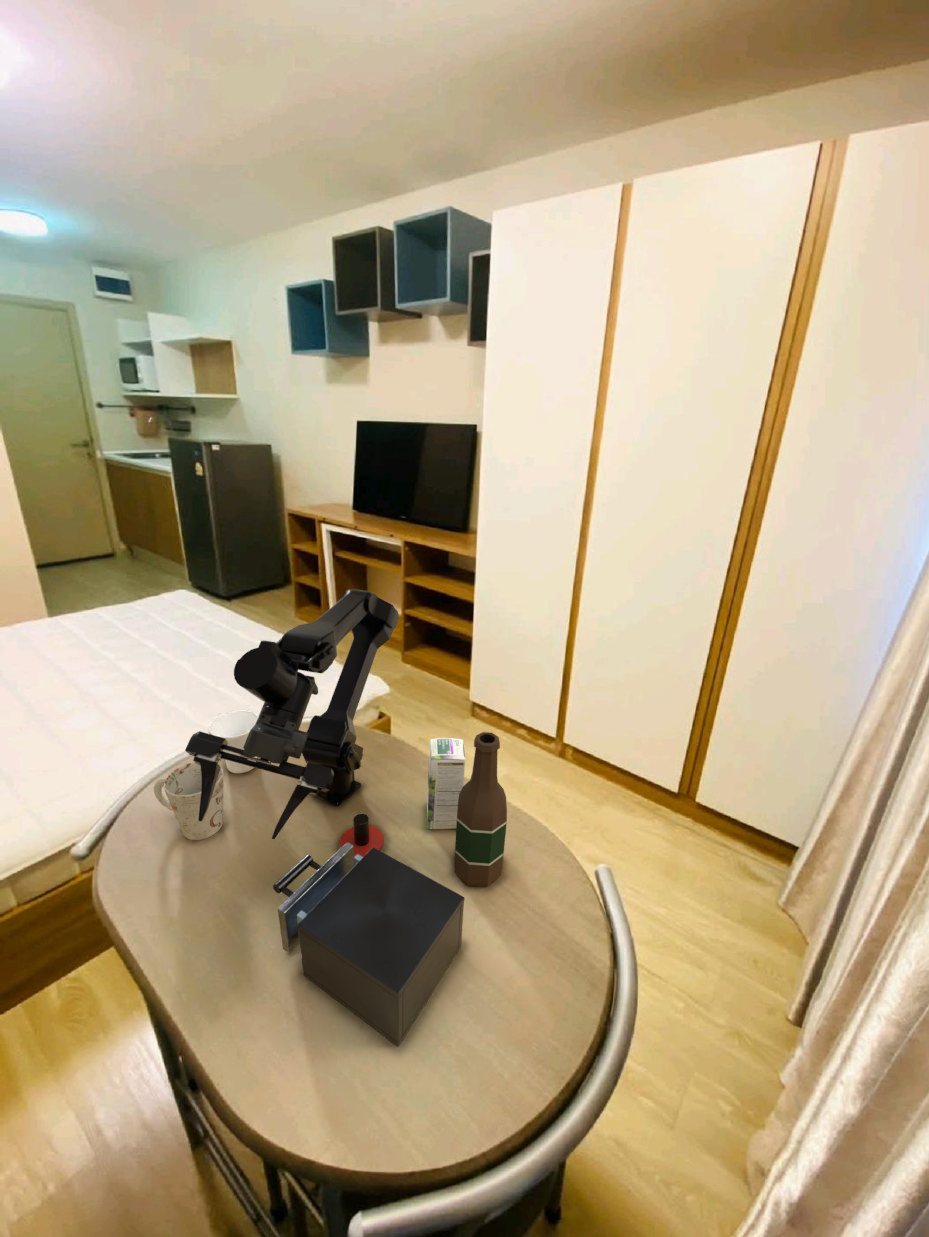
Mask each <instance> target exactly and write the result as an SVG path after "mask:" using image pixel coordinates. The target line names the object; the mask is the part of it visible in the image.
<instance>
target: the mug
mask: <svg viewBox="0 0 929 1237" xmlns="http://www.w3.org/2000/svg"><path fill="white" fill-rule="evenodd" d="M224 778H225V776H224V770H223V768H222V766H221V768H220V772H219V775H218V778H217V781H216V784H215V788H214V791H213V794H212V797H211V801H210V804H209V807H208V810H207V812H206V814H205V816H204V819H203V821H198V819H199V809H200V799H201V789H202V777H201V766H200V765H198V764H196V763H195V762H194V761H192V762H190V763H186V764H183V765H181V766H179V767H177V768H176V769H174V770H172V772H170V773H169V774H168V776H166V777H161V778H159V779H157V780H156V782H155V783H154V786H153V793H154V796H155V798H156V799H157V801H158V802H159V803H160V805H162V806H163V807H165V808H166V809H167V810H169V811H171V812H173V814H174V816H175V818H176V821H177V823H178V825H179V828H180V831H181V834H182V835H183V836H184V838H186V839H187V840H190V841H201V840H205V839H208V838H209V837H212V836H214V835H215V834H216V833H218V832H219V831H220V830H221V828H222V827H223V825H224V784H225V783H224V782H225V781H224ZM163 789H164V792H165V795H166V797H165V796H164V795H163V793H162V790H163ZM166 798H167V799H166Z"/></svg>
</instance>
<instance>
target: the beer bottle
mask: <svg viewBox="0 0 929 1237" xmlns="http://www.w3.org/2000/svg"><path fill="white" fill-rule="evenodd" d="M473 740H474V741H473V747H474V748H475V750H474V756H473V764H472V771H471V775H470V779H469V781H467V782H466V783H464V786H463V788H462V790H461V792H460V793H459V799H458V809H457V824H456V829H455V846H454V873H455V874H456V875H457V877H459V878H460V879H461V881H462V882H464V883H465V884H466V885H467V886H472V887H489V885H491V884H492V883H493V882H495V881H496V880H497V879H499V877H501V876H502V870H503V864H504V853H505V844H506V843H505V842H506V832H507V825H508V824H507V822H508V806H507V805H508V804H507V803H508V802H507V795H506V793H505V789H504V788H503V786H502V785H501V784H500V783H499V779H498V750H499V749H501V742H500V741H501V740H500V738H499V736H498V735H496V733H495V734H494V733H493V732H487V731H482V732H480V733H478V734H476V735H475V737H474V739H473Z"/></svg>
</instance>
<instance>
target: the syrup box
mask: <svg viewBox="0 0 929 1237" xmlns="http://www.w3.org/2000/svg"><path fill="white" fill-rule="evenodd" d="M465 748H466V747H465V742H464V739H462V738H454V737H453V738H452V737H437V738H431V739H430V740H429V756H428V773H427V798H426V799H427V803H426V806H427V807H426V827H427V830H453V829H455V830H456V824H457V809H458V799H459V793H460V792H461V790H462V788H463V786H464V785H465V772H466V749H465Z"/></svg>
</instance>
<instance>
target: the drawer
mask: <svg viewBox="0 0 929 1237" xmlns="http://www.w3.org/2000/svg"><path fill="white" fill-rule="evenodd" d="M362 858H363V857H362V856H360V855H358V854H357V855H356V856H355V857H354V846H353V845H352V844H350V843H348V842H347V843H346V844H345V845H344V846H343V847H342V848H341V849H340V848H339V849H338V850H337V851H336V852H335V853H334V854H333V855H332V856H331V857H330V858H329V859H328V860H327V861H326V862H324V864H323V865H321V864H319V863H318V862H316V861H315V860H314V858H313V857H312V855H310V854H306V855H305V856H303V857H302V859H300V860H299V861H298V862H297V863H296V864H295V865H294V866H293V867H292V868H291V869H289V870H288V871H287V872H285V874H284V875H283V876H282V877H280V879H278V880H277V881H276V882H275V883H274V884H273V885H272V888H273V890H274V892H275V893H276V894H278V895H279V894H281V893H282V894H283V895H285V896H286V897H288V898H287V899H286V900H285V901H284V902H283V903H282V904H281V905H279V907H278V908H277V914H278V922H279V931H280V938H281V944H282V950H284V951H285V952H287V954H290V953H292V952H293V951H294V949H295V948H296V947H297V946H299V945H300V938H299V929H298V924H299V923H300V922H301V921H302V920H303V919H304V917H305V916H306V915H307V914H308V913H309V912H310V911H311V910H312V909H313V908H314V907H315V906H316V905H317V904H318V903H319V902H320V901H321V900H322V899H323V898H324V897H325V896H326V895H327V894H328V893H329V892H330V891H331V890H332V889H333V888H334V887H335V886H336V885H337V884H338V883H339V882H340V881H341V880H342V879H343V878H344V877H345V875H346V874H347V873H348V872H349V871H350V870H351V869H352V868H353V867H354V866H355V865H356V864H357V863H358V862H359V861H360V860H361V859H362ZM309 867H310V868H311V869H313V870H315V871H316V872H314V873H313V874H312V875H311V876H310V877H309V878H307V880H305V882H304V883H302V885H300V887H298V888H297V889H296V890H295V891H293V890H291V889H290V888H288V887H289V886H290V885H291V884H292V883H293V882H294V881H295V880H296V879H297V878H298V877H300V875H302V874H303V873H304V872H305V871H306V870H307V869H309ZM299 948H300V950H301V947H300V946H299Z"/></svg>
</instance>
